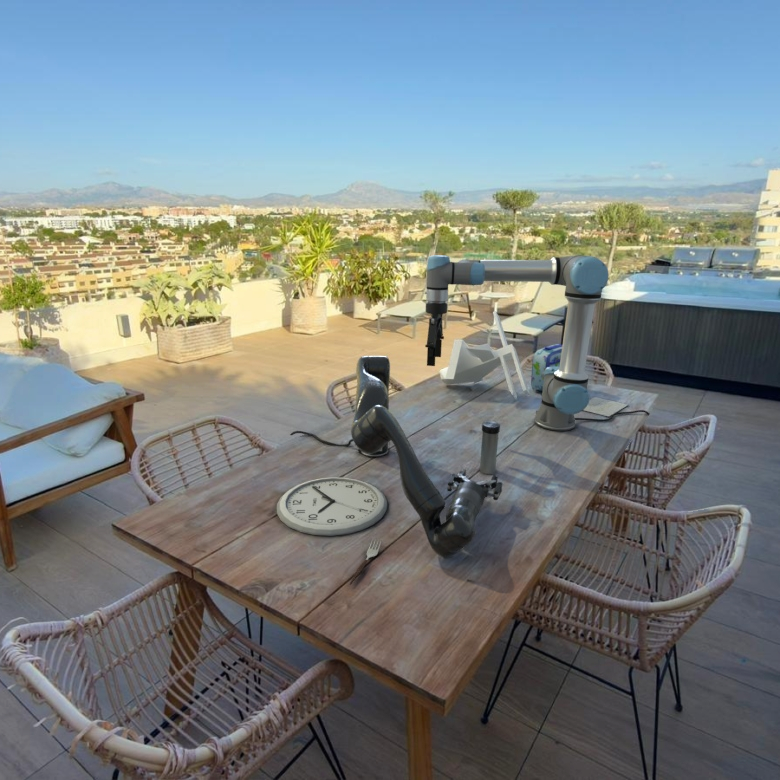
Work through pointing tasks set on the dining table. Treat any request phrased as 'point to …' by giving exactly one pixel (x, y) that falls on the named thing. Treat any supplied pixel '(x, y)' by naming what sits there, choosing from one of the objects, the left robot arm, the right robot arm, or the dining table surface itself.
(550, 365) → the lunch box
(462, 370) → the white plastic object
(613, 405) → the invitation card
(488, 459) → the jar
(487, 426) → the lid
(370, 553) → the fork
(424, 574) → the dining table surface
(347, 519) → the wall clock
